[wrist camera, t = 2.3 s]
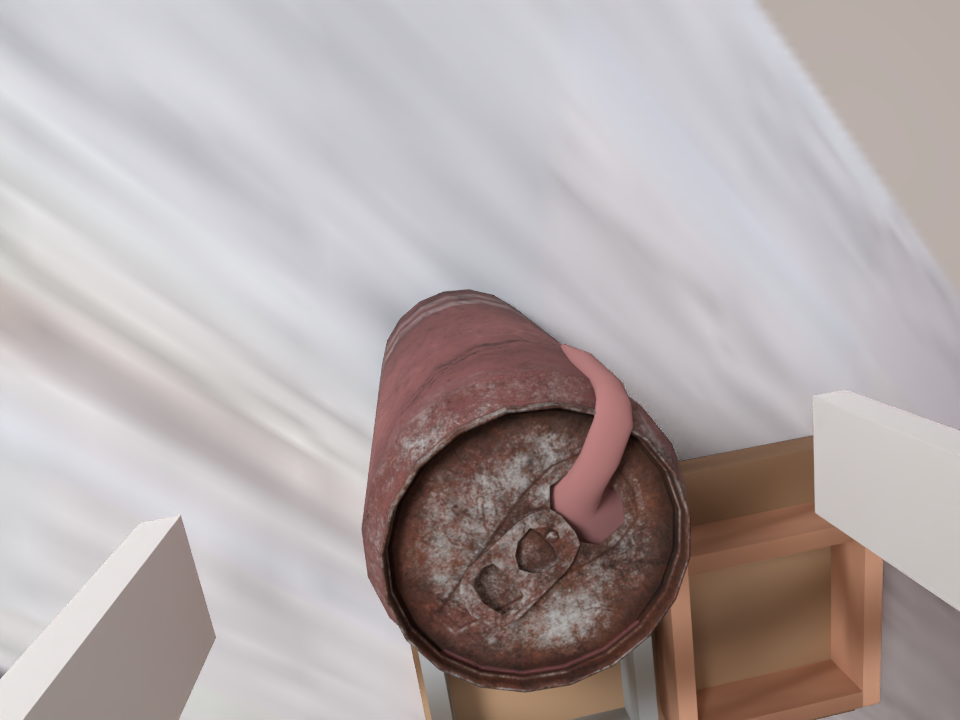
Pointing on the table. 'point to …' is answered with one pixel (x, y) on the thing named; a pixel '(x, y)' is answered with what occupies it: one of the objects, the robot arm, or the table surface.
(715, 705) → the board
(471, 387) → the can
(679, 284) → the table surface
